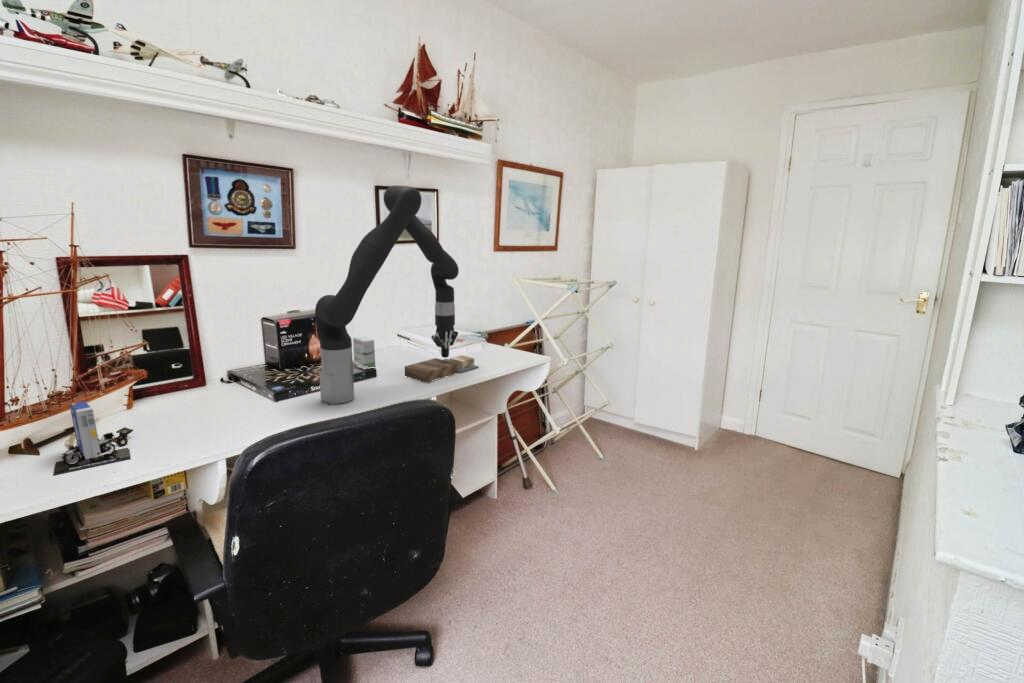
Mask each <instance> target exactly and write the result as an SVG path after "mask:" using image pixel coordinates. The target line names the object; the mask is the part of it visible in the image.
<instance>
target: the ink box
mask: <svg viewBox="0 0 1024 683" xmlns="http://www.w3.org/2000/svg"><path fill="white" fill-rule="evenodd" d="M352 344H353V345H352V348H353V363H354V362H357V363H359V364H362V365H364V366H368V367H375V368H376V353H375V352H376V351H375V339H372V338H369V337H366V336H359V337H358V336H357V337H353V338H352Z"/></svg>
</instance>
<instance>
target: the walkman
mask: <svg viewBox="0 0 1024 683" xmlns="http://www.w3.org/2000/svg"><path fill="white" fill-rule="evenodd" d="M69 408H70V414H71V419H72V424H73V429H74V435H75V436H74V437H75V440H76V445H78V446H77V448H78V447H79V449H80V450H81V452H82V454H83V455H82V454H81V455H82V457H83V456H84V457H85V458H84V457H83V458H84V459H85V461H86V460H90V458H91V459H95V458H99V456H100V457H102V453H101V448H100V442H99V437H98V436H99V435H98V431H97V425H96V420H95V413H94V409H93V408H92V407H91V406H90V405H89V403H87V402H86V401H78V402H71V403H70V404H69ZM93 457H94V458H93Z"/></svg>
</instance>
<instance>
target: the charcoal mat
mask: <svg viewBox="0 0 1024 683" xmlns="http://www.w3.org/2000/svg"><path fill="white" fill-rule="evenodd" d="M443 360H445V361H449V362H450V358H449V359H448V358H444V359H443ZM479 368H480V367H479V365H478V366H477V365H475V364H474V366H471V367H467V368H464V369H461V368H458V374H459V373H461V374H464V373H463V372H465V373H467V371H468V372H470V370H471V371H473V370H477V369H479Z"/></svg>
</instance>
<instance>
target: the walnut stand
mask: <svg viewBox="0 0 1024 683" xmlns="http://www.w3.org/2000/svg"><path fill="white" fill-rule="evenodd" d="M455 373H458V364H457V363H453V362H449V361H445V360H444V359H439V358H435V357H434V358H431V359H427V360H425V361H420V362H416V363H413V364H408V365H405V366H404V377H405V376H407V377H406V378H408V377H410V378H409V379H411V378H413V379H412V380H414V379H417V380H416V381H418V380H421V381H424V382H423V383H425V382H430V381H432V380H435V379H438V378H442V377H445V376H449V375H452V374H455ZM458 374H459V373H458ZM455 375H456V374H455ZM452 376H453V375H452ZM449 377H450V376H449ZM445 378H446V377H445ZM442 379H443V378H442ZM421 381H420V382H421ZM430 383H431V382H430Z"/></svg>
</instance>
